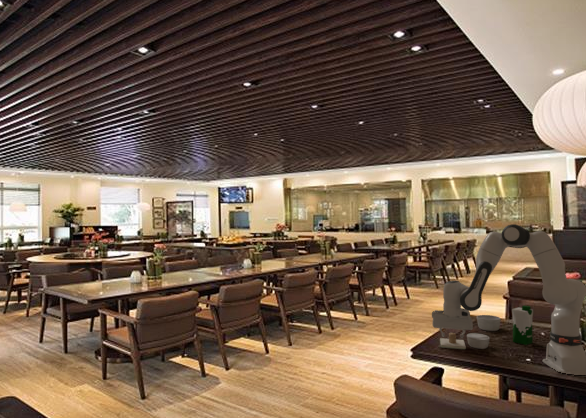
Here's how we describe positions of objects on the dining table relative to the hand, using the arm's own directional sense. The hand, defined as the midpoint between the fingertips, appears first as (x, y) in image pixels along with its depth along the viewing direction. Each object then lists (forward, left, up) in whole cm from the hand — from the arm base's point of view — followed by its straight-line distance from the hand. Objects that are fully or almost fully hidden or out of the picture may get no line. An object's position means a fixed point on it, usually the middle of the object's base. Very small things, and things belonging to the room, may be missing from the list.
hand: (452, 336), depth 225 cm
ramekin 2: (+1, -13, -4) cm, 14 cm away
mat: (0, 0, -4) cm, 4 cm away
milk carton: (+14, -37, -4) cm, 40 cm away
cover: (0, 0, -4) cm, 4 cm away
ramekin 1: (+39, -24, -4) cm, 46 cm away
